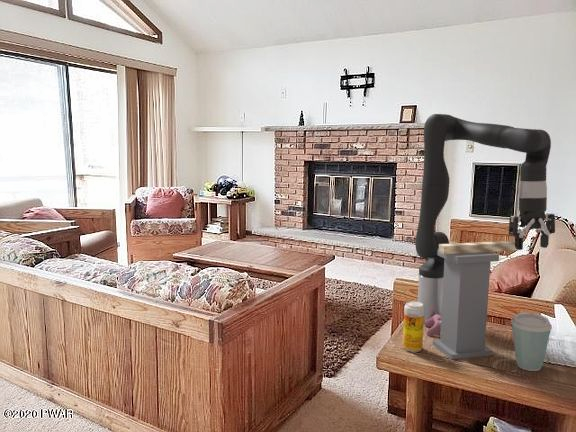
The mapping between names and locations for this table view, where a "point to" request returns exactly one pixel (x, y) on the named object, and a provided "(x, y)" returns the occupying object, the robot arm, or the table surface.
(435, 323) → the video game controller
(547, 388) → the table surface
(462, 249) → the beech bar
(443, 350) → the gray pedestal
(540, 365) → the disposable coffee cup
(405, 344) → the yellow bottle
